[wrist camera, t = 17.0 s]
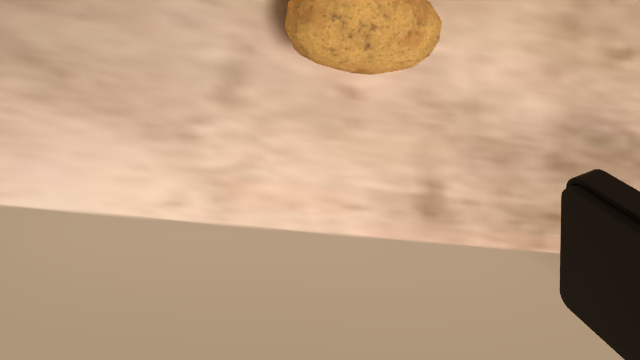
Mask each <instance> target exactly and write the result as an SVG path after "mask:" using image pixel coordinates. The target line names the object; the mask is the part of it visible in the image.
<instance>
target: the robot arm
mask: <svg viewBox="0 0 640 360" xmlns="http://www.w3.org/2000/svg"><path fill="white" fill-rule="evenodd" d="M560 255H561V256H560V294H561V298H562V300H563V302H564V303H565V305H566V306H567V307H568V308H569V309H570V310H571V311H572V312H573V313H574V314H575V315H576V316H577V317H579V318H580V319H581V320H582V321H583V322H584V323H585V324H586V325H587V326H588V327H590V328H591V329H592V330H593V331H594V332H595V333H596V334H597V335H598V336H599V337H600V338H602V339H603V340H604V341H605V342H606V343H607V344H608V345H609V346H610V347H611V348H613V349H614V350H615V351H616V352H617V353H618V354H619V355H620V356H622V358H624V359H625V360H640V192H639V191H638V190H636V189H634V188H633V187H631V186H629V185H627V184H626V183H624V182H622V181H620V180H619V179H617V178H615V177H613V176H612V175H610V174H608V173H607V172H605V171H602V170H600V169H595V170H592V171H590V172H587V173H585V174H582V175H579V176H577V177H574V178H572V179H570V180H569V181H568V183H567V186H566V189H565V190H563V192H562V196H561V249H560Z"/></svg>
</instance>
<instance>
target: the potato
mask: <svg viewBox="0 0 640 360" xmlns="http://www.w3.org/2000/svg"><path fill="white" fill-rule="evenodd" d="M441 23H442V22H441V20H440V17H439V16H438V14H437V13H436V11H435V10H434V8H433V7H432V5H431V3H430V2H429V1H427V0H290V1H289V2H288V7H287V14H286V21H285V30H286V32H287V34H288V36H289V38H290V40H291V42H292V44H293V46H294V48H295V49H296V51H297V52H298V53H299V54H301V55H302V56H304V57H306V58H308V59H310V60H312V61H313V62H315V63H317V64H321V65H324V66H328V67H331V68H335V69H338V70H343V71H347V72H351V73H359V74H380V73H386V72H392V71H397V70H402V69H407V68H411V67H413V66H415V65H417V64H418V63H419V62H421V61H422V60H424V59H425V58H426V57H428V56H429V55H430V53H431V52H432V50H433V49H434V47H435V46H436V44H437V43H438V42H439V38H440V31H441Z"/></svg>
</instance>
